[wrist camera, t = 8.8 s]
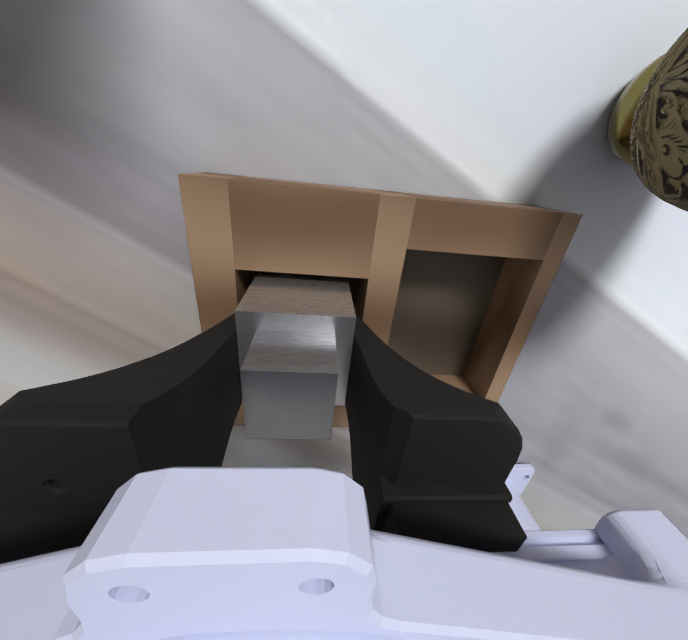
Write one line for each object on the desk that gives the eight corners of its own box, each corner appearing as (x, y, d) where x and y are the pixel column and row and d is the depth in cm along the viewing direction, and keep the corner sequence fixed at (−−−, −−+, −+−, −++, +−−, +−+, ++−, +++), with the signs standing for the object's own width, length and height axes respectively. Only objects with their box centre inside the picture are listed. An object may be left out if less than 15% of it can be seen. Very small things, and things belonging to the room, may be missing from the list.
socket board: (465, 396, 18) (485, 429, 16) (229, 389, 16) (215, 424, 14) (537, 206, 13) (582, 214, 11) (205, 172, 11) (177, 173, 9)
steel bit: (337, 334, 15) (349, 453, 9) (266, 331, 15) (226, 452, 8) (344, 267, 13) (364, 355, 7) (264, 261, 13) (211, 348, 7)
